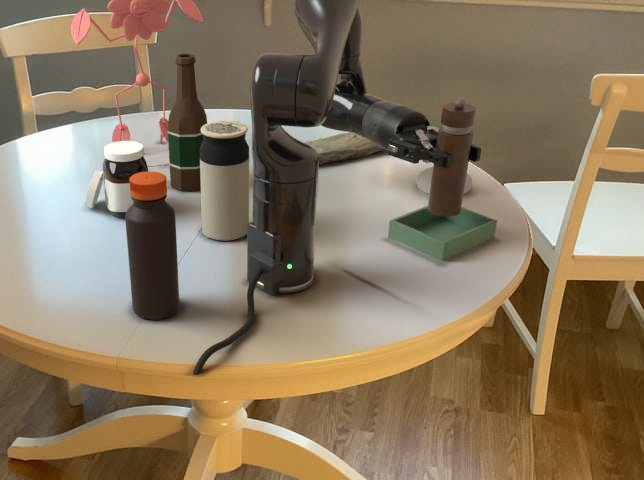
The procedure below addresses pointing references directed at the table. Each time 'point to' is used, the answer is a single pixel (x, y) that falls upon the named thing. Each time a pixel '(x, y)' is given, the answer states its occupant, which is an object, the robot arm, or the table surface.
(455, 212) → the pepper mill
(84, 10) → the figurine
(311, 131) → the table surface
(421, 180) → the donut
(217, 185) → the travel mug
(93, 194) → the spread jar
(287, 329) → the table surface
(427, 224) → the green shallow open box
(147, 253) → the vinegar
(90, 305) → the table surface
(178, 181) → the beer bottle
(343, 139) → the elongated rock
